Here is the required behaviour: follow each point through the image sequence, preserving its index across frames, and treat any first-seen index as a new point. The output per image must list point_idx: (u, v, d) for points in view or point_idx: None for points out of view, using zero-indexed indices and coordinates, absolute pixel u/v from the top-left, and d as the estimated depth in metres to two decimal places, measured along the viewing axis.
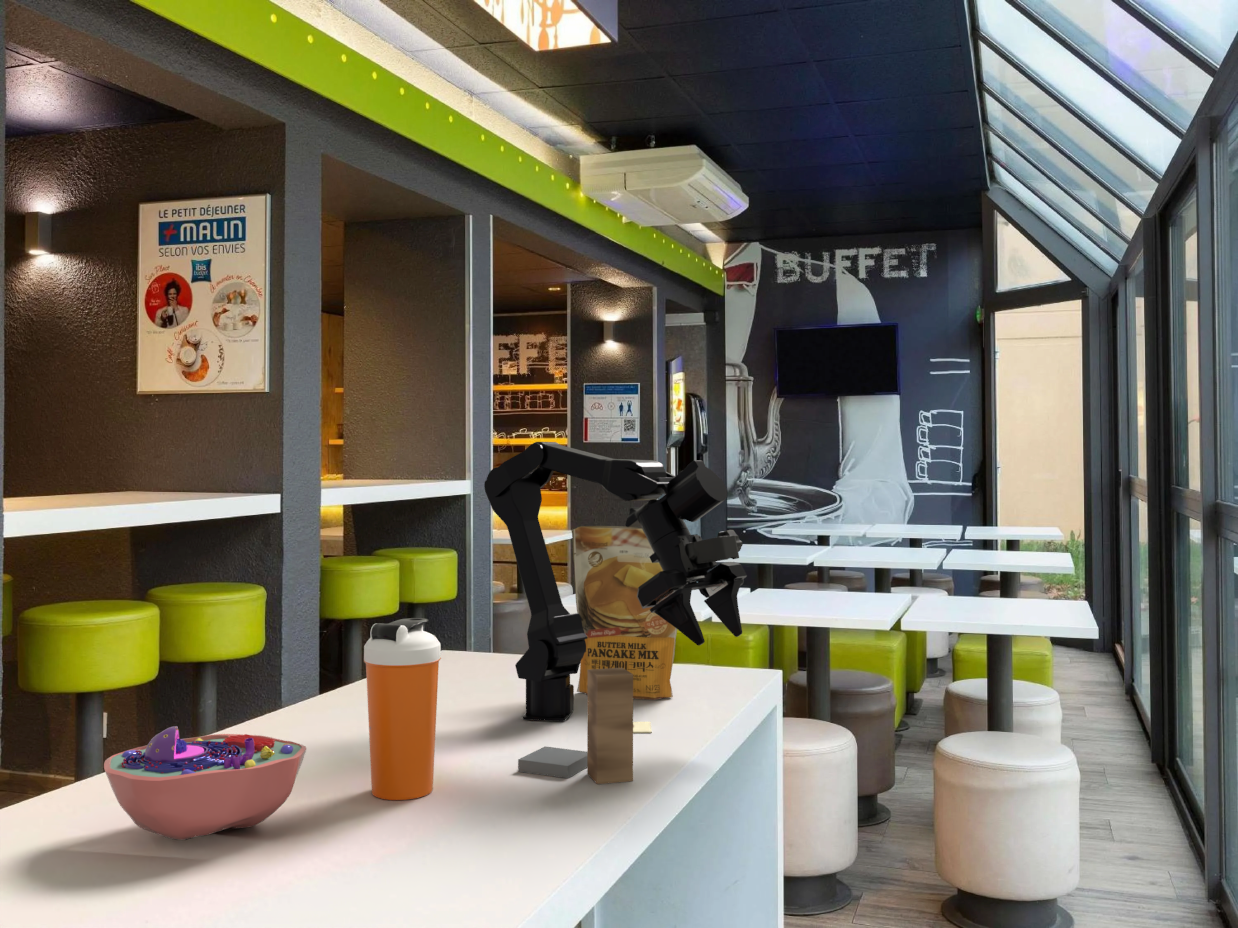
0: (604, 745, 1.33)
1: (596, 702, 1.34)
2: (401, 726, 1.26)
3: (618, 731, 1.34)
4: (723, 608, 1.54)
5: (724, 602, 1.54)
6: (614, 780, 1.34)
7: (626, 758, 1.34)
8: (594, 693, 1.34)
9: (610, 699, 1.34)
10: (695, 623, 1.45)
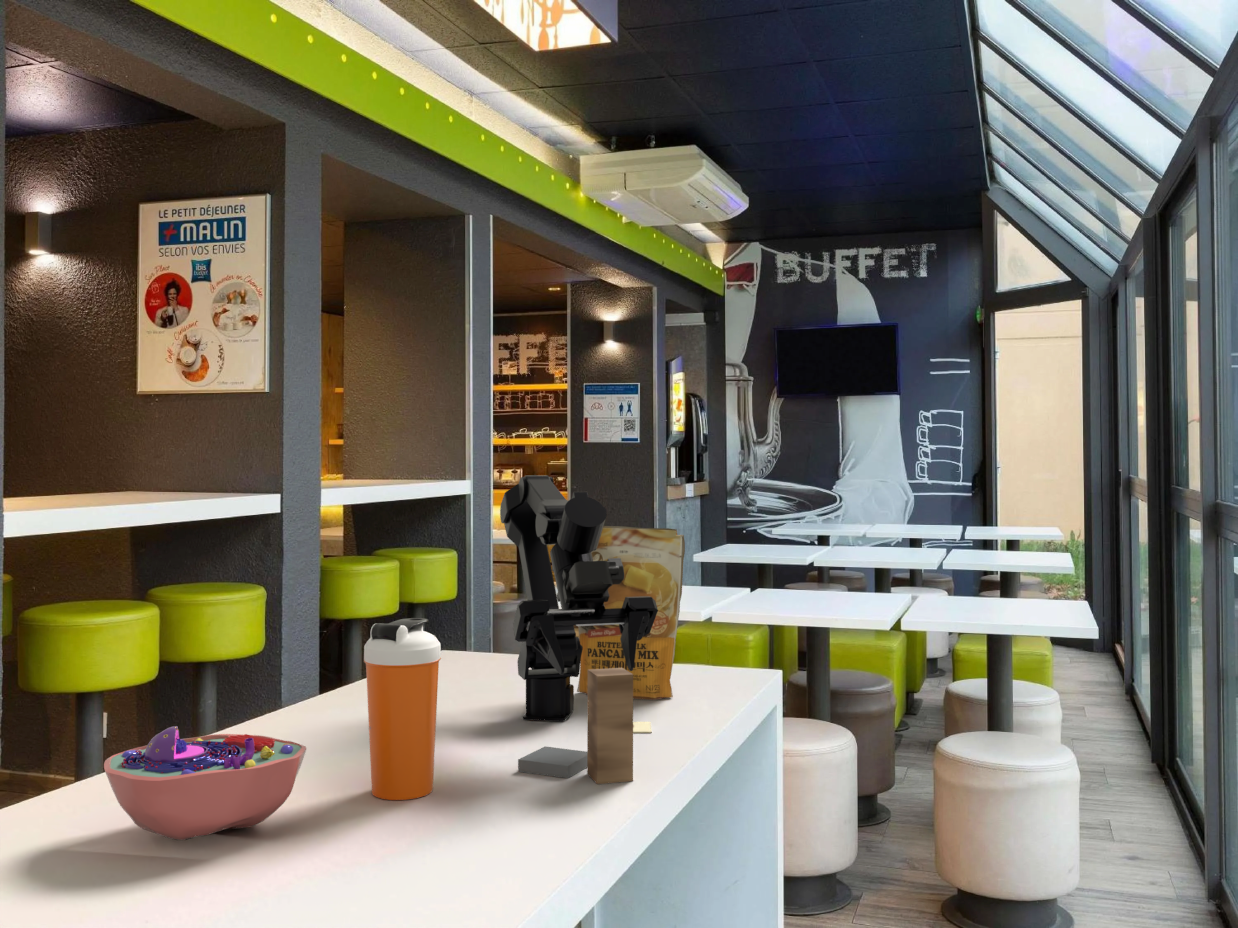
0: (604, 745, 1.33)
1: (596, 702, 1.34)
2: (401, 726, 1.26)
3: (618, 731, 1.34)
4: (625, 643, 1.46)
5: (626, 636, 1.46)
6: (614, 780, 1.34)
7: (626, 758, 1.34)
8: (594, 693, 1.34)
9: (610, 699, 1.34)
10: (555, 651, 1.41)
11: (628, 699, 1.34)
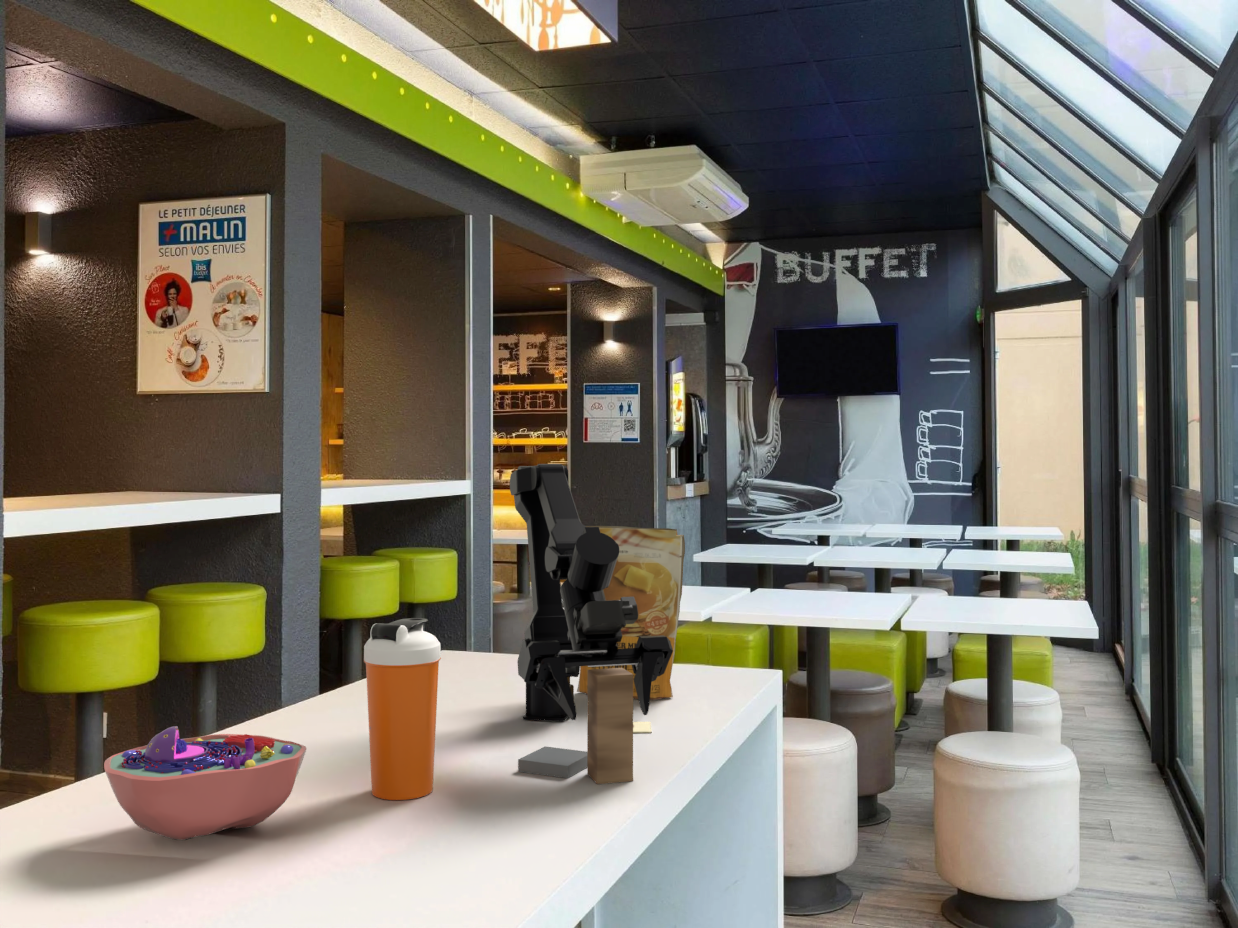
0: (604, 746, 1.33)
1: (596, 702, 1.34)
2: (401, 726, 1.26)
3: (618, 731, 1.34)
4: (639, 685, 1.40)
5: (639, 678, 1.40)
6: (614, 780, 1.34)
7: (626, 758, 1.34)
8: (594, 693, 1.34)
9: (610, 699, 1.34)
10: (567, 695, 1.35)
11: (628, 699, 1.34)
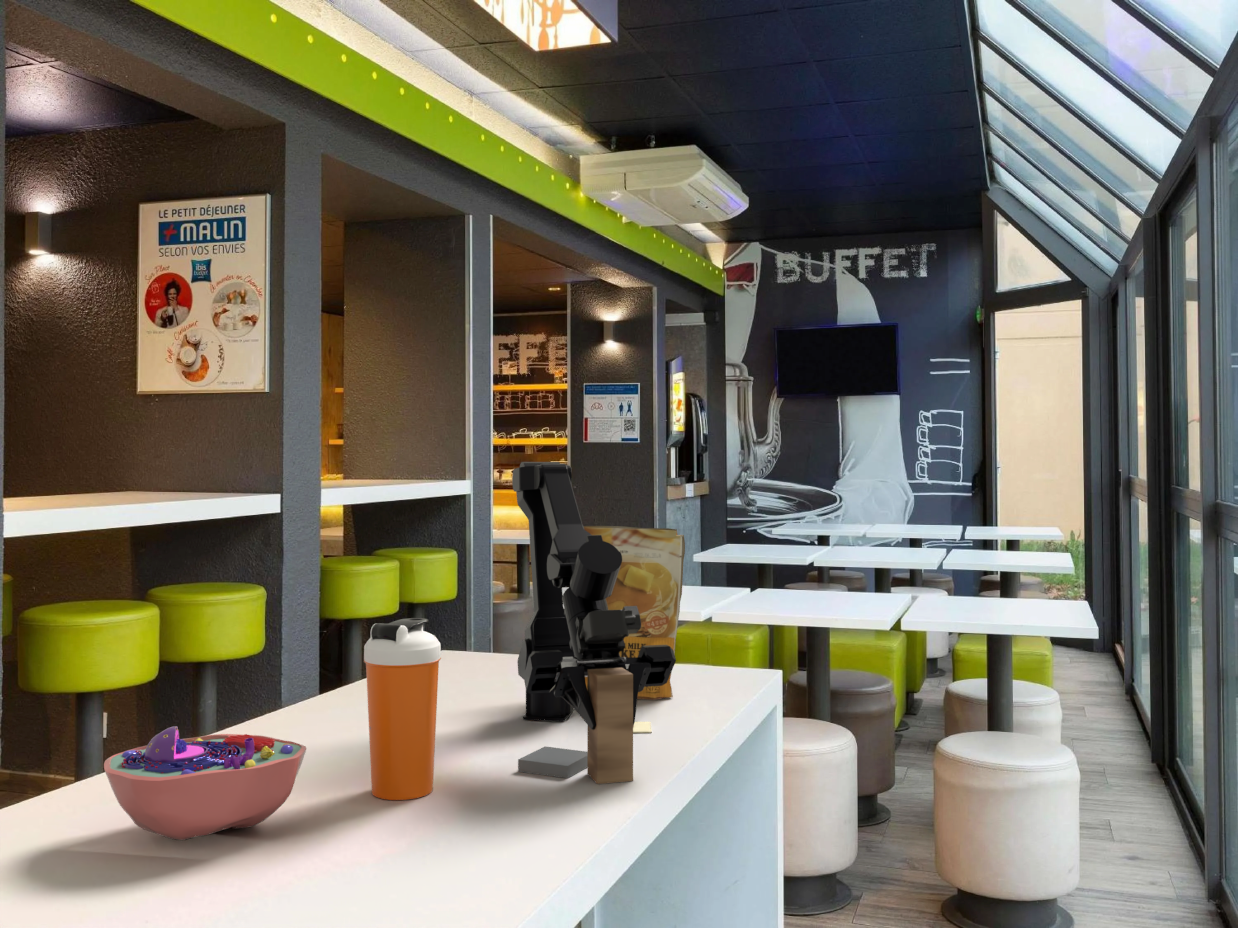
0: (604, 745, 1.33)
1: (596, 702, 1.34)
2: (401, 726, 1.26)
3: (618, 731, 1.34)
4: None
5: None
6: (614, 780, 1.34)
7: (626, 758, 1.34)
8: (594, 693, 1.34)
9: (610, 699, 1.34)
10: (586, 705, 1.35)
11: (628, 699, 1.34)
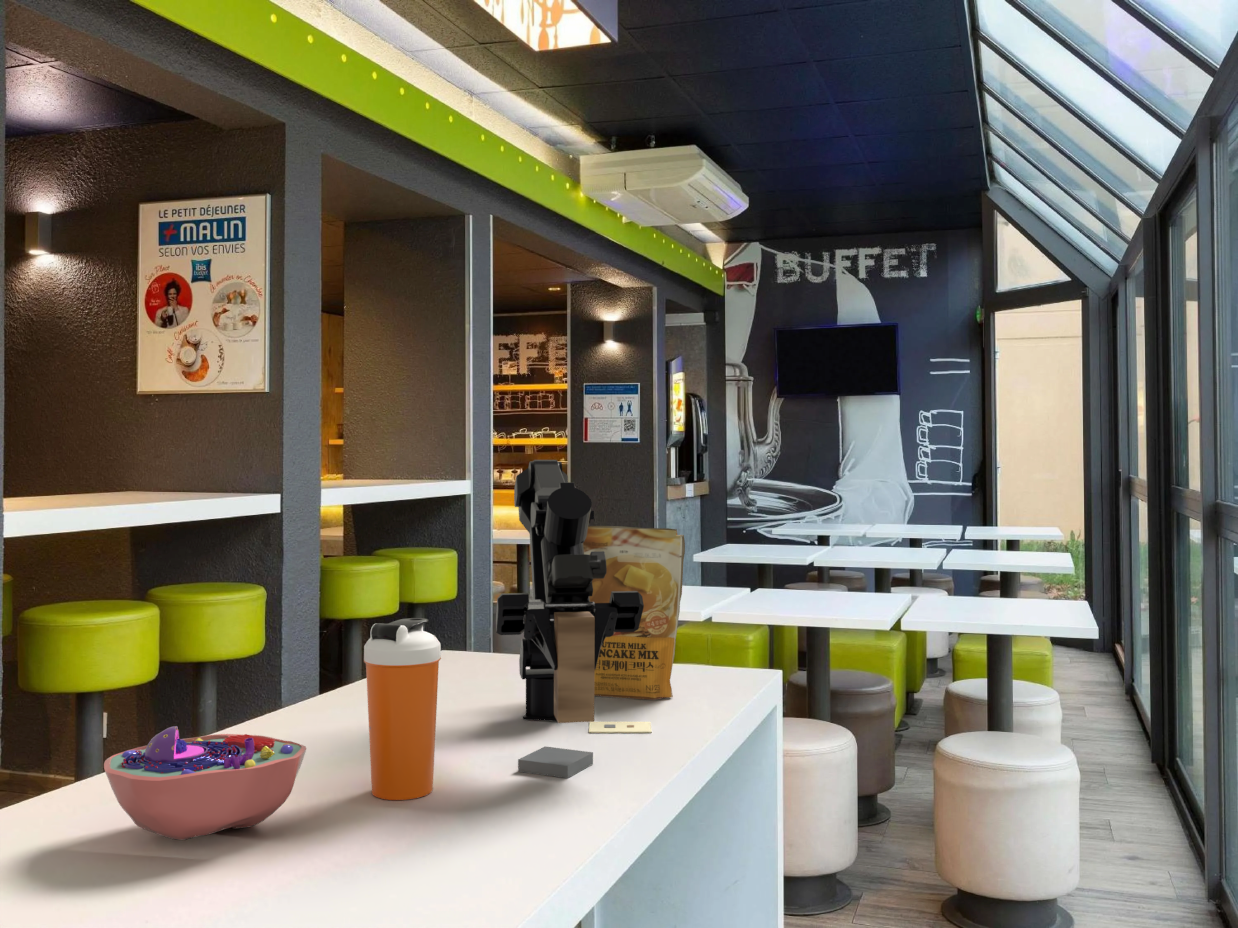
0: (565, 686, 1.36)
1: (558, 643, 1.37)
2: (401, 726, 1.26)
3: (579, 672, 1.37)
4: None
5: None
6: (575, 720, 1.37)
7: (587, 699, 1.37)
8: (557, 634, 1.37)
9: (571, 641, 1.36)
10: (549, 646, 1.38)
11: (589, 641, 1.37)
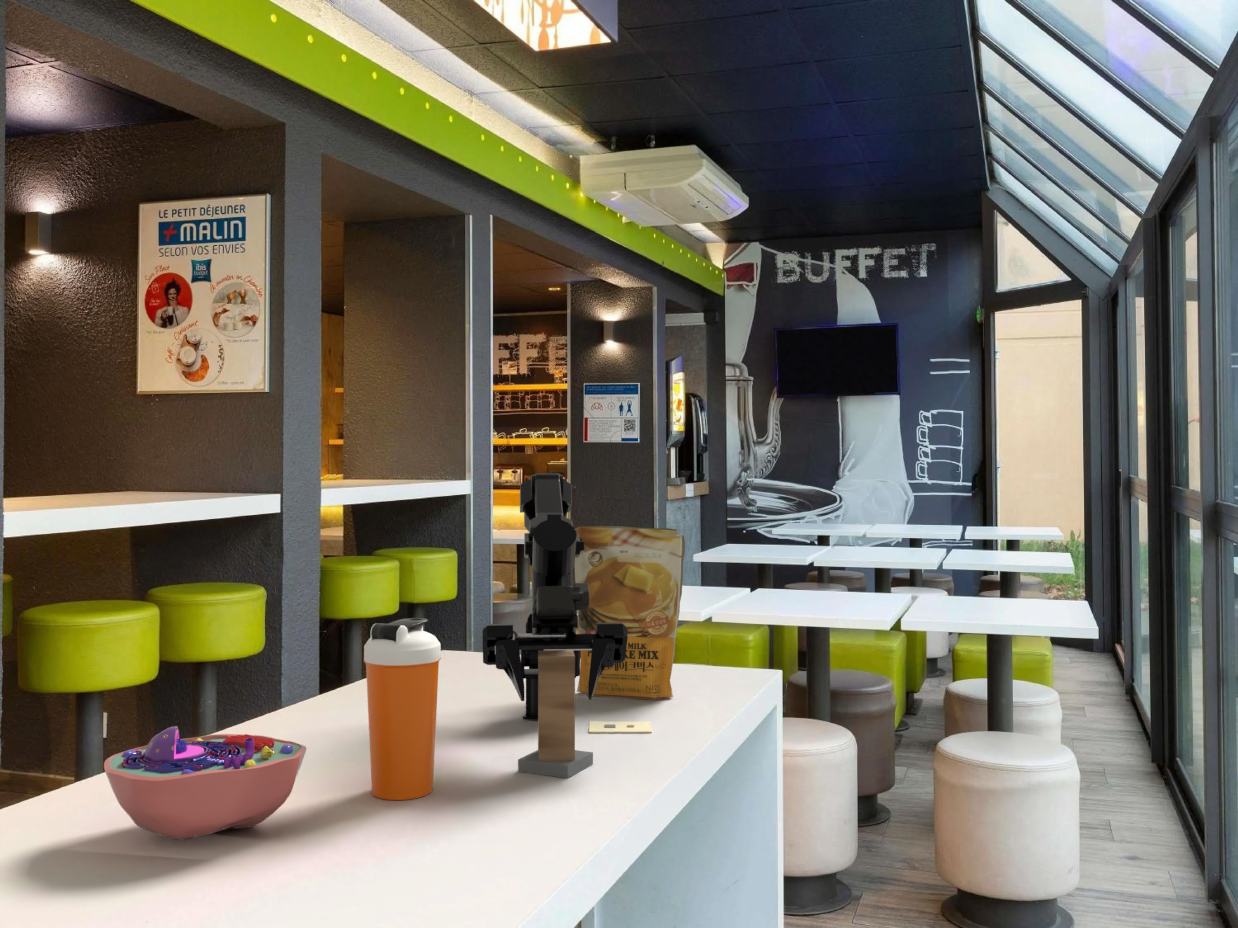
0: (546, 724, 1.38)
1: (538, 681, 1.38)
2: (401, 726, 1.26)
3: (560, 710, 1.38)
4: None
5: None
6: (555, 758, 1.38)
7: (568, 737, 1.38)
8: None
9: (551, 679, 1.38)
10: (517, 677, 1.39)
11: (570, 680, 1.38)
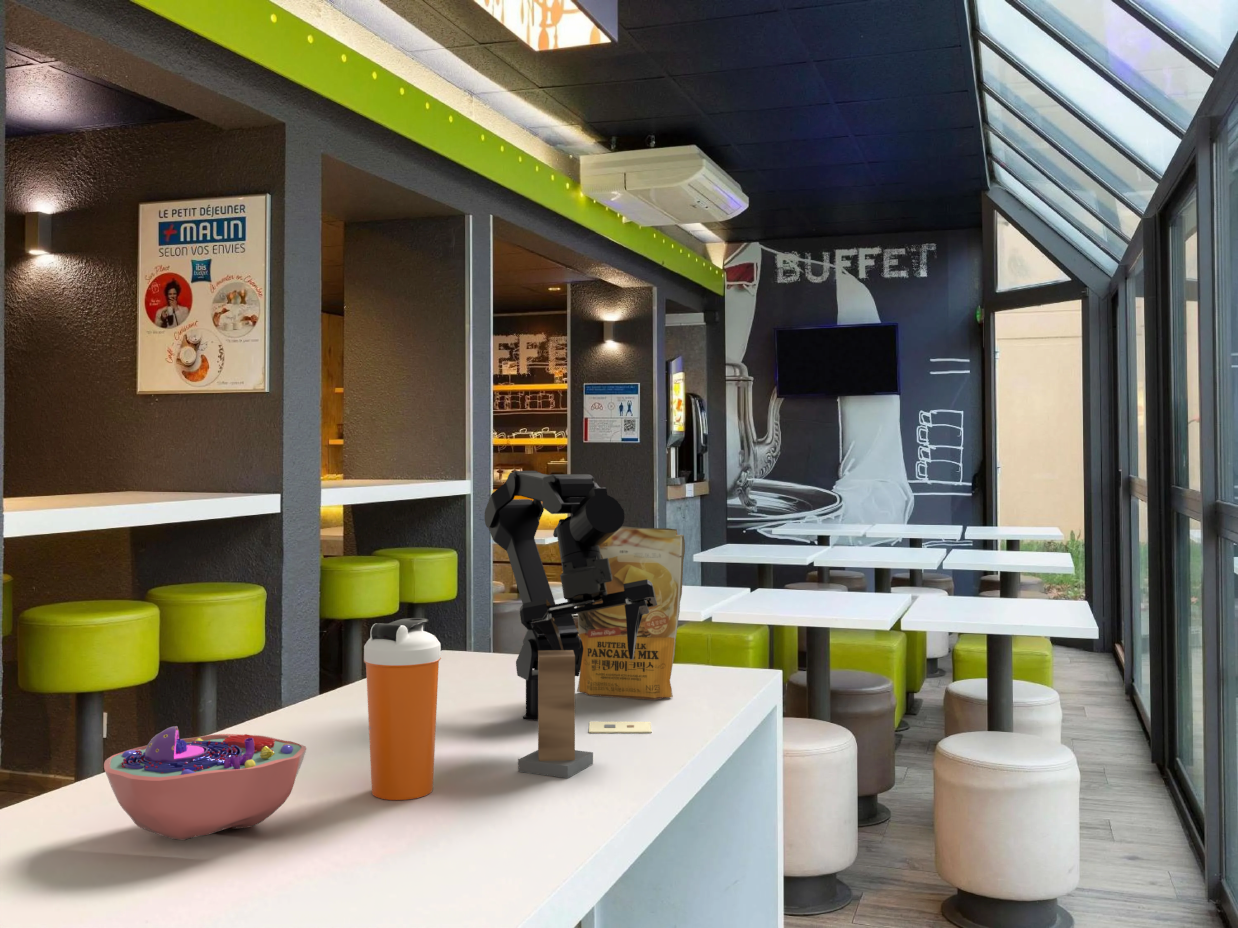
0: (546, 724, 1.38)
1: (538, 682, 1.38)
2: (401, 726, 1.26)
3: (560, 711, 1.38)
4: None
5: None
6: (555, 758, 1.38)
7: (568, 737, 1.38)
8: None
9: (551, 679, 1.38)
10: None
11: (570, 680, 1.38)
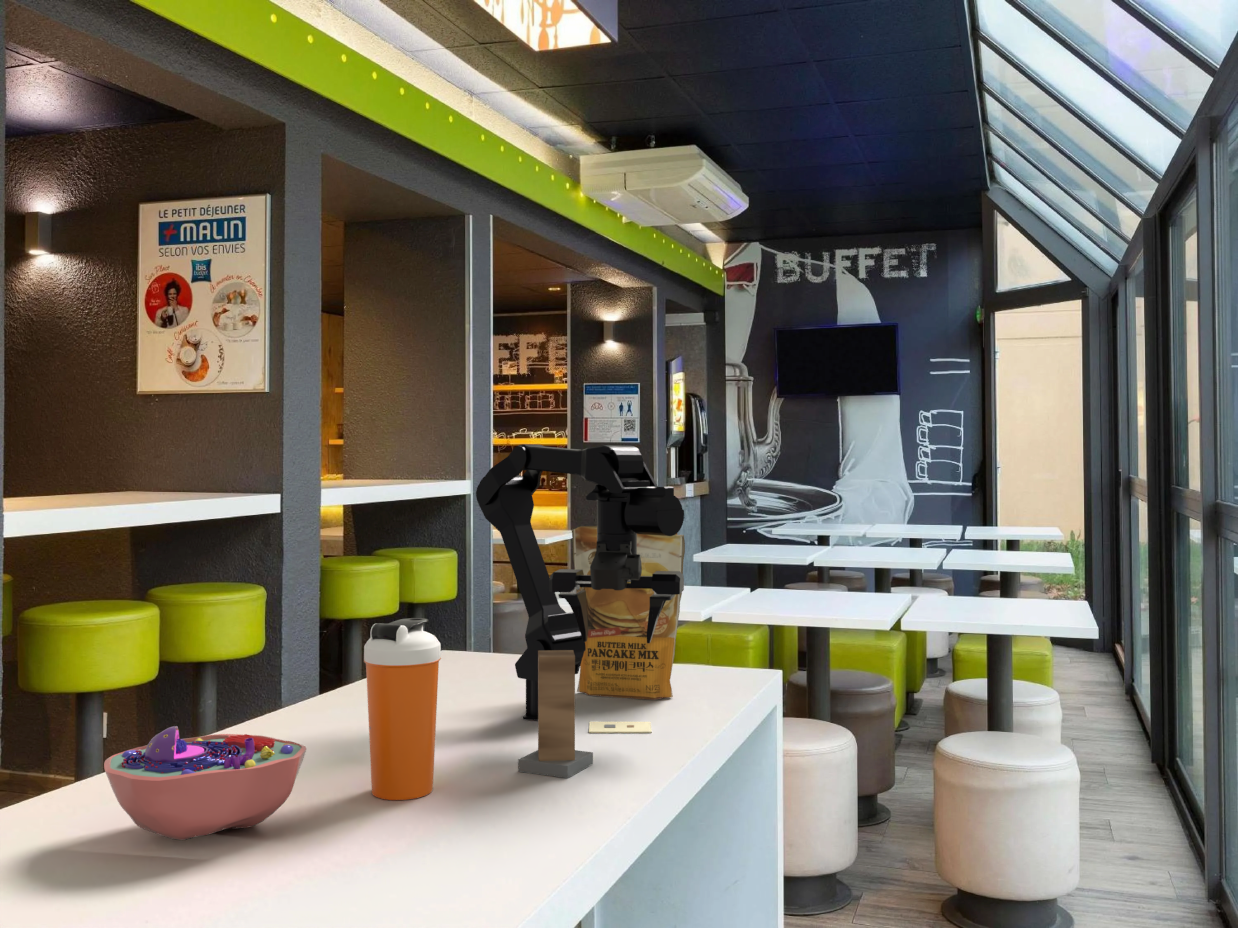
0: (546, 724, 1.38)
1: (538, 682, 1.38)
2: (401, 726, 1.26)
3: (560, 711, 1.38)
4: None
5: None
6: (555, 758, 1.38)
7: (568, 737, 1.38)
8: None
9: (551, 679, 1.38)
10: (579, 624, 1.58)
11: (570, 680, 1.38)
